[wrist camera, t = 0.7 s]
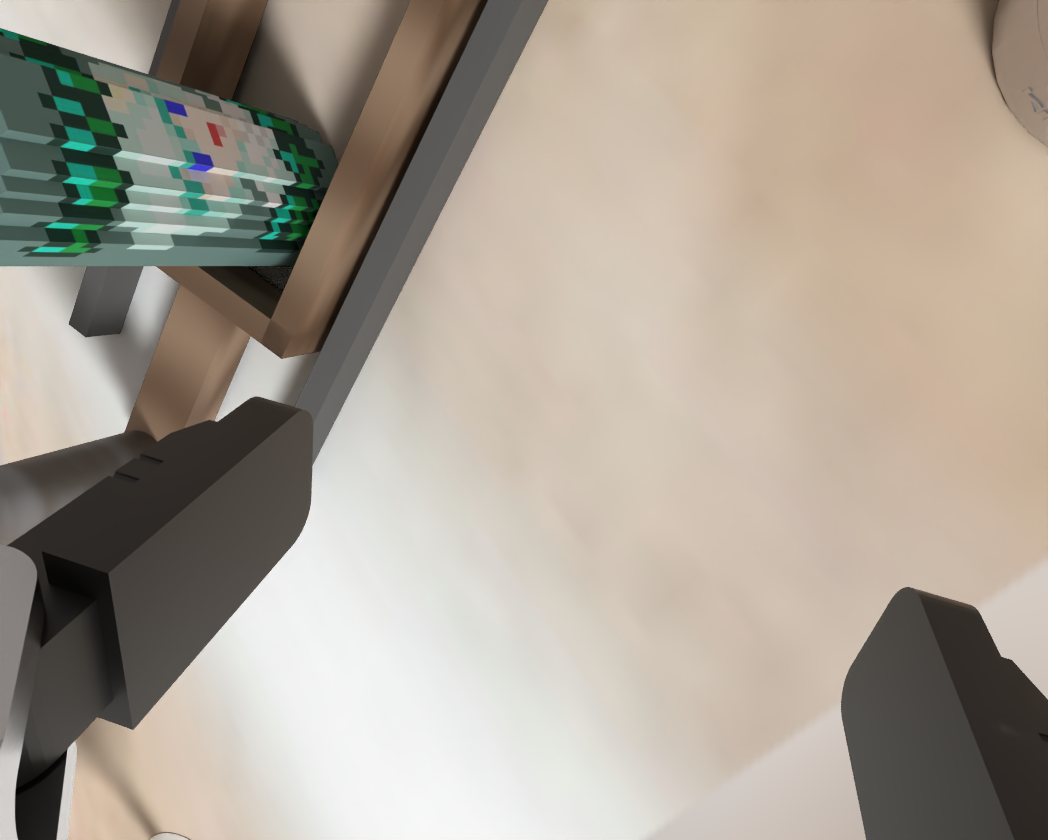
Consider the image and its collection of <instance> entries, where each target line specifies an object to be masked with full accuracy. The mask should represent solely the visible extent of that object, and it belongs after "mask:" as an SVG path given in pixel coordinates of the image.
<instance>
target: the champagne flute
mask: <svg viewBox="0 0 1048 840" xmlns="http://www.w3.org/2000/svg"><path fill="white" fill-rule="evenodd" d="M150 840H188V839H186V838H185V837H182V836H179V835H177V834H171V833H161V834H158V835H155V836H154V837H152V838H151V839H150Z"/></svg>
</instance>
